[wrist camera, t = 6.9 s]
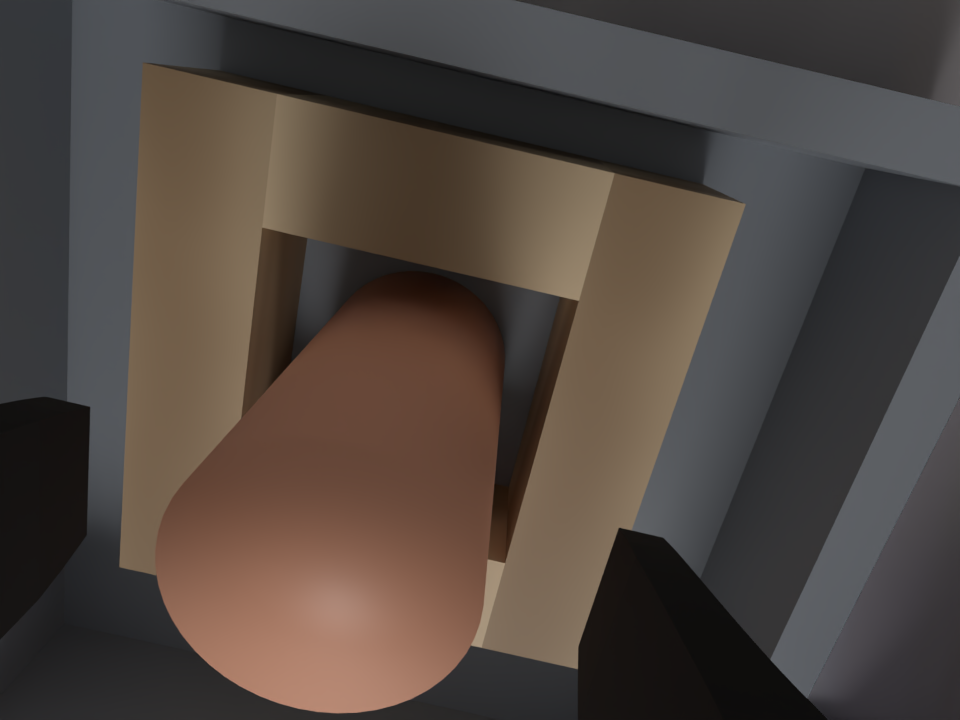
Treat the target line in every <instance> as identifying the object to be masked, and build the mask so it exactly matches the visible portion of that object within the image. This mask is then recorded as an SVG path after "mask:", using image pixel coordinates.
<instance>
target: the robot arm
mask: <svg viewBox="0 0 960 720" xmlns="http://www.w3.org/2000/svg"><path fill="white" fill-rule="evenodd" d="M89 438H90V407H89V406H85V405H81V404H76V403H72V402H68V401H63V400H59V399H54V398H50V397H46V396H45V397H37V398H30V399H23V400H17V401H12V402H7V403H2V404H0V639H1V638H2V637H3V636H4V635H5V634H6V633H7V632H8V631H9V630H10V629H11V628H12V627H13V626H14V625H15V624H16V623H17V622H18V621H19V620H20V619H21V618H22V617H23V616H24V615H25V613H26V612H27V611H28V610H29V609H30V608H31V607H32V606H33V605H34V604H35V603H36V602H37V601H38V600H39V599H40V597H41V596H42V595H43V593H44V592H45V591H46V590H47V588H48V587H49V586H50V584H51V583H52V582H53V581H54V579H55V578H56V577H57V575H58V574H59V573H60V572H61V570H62V569H63V568H64V566H65V565H66V563H67V562H68V561H69V559H70V558H71V556H72V555H73V554H74V552H75V551H76V550H77V548H78V547H79V545H80V544H81V543H82V541H83V540H84V538H85V537H86V536H87V509H88V474H89ZM578 720H827V719H826V717H825V716H824V715H823V714H822V713H821V712H820V711H819V710H818V709H817V708H816V707H815V706H814V705H813V704H812V703H811V702H810V701H809V700H808V699H807V698H806V697H805V696H804V695H803V694H802V693H801V692H800V691H799V690H798V689H797V688H796V687H795V686H794V684H793V683H792V682H791V681H790V680H789V679H788V678H787V677H786V676H785V675H784V674H783V673H782V672H781V671H780V670H779V668H778V667H777V666H776V665H775V664H774V663H773V662H772V661H771V660H770V659H769V658H768V657H767V655H766V654H765V653H764V652H763V651H762V650H761V649H760V648H759V647H758V645H757V644H756V643H755V642H754V641H753V640H752V639H751V638H750V636H749V635H748V634H747V633H746V632H745V631H744V630H743V628H742V627H741V626H740V625H739V624H738V623H737V622H736V620H735V619H734V618H733V617H732V616H731V615H730V613H729V612H728V611H727V610H726V609H725V608H724V606H723V605H722V604H721V603H720V602H719V601H718V599H717V598H716V597H715V596H714V595H713V593H712V592H711V591H710V590H709V589H708V588H707V586H706V585H705V584H704V583H703V582H702V580H701V579H700V578H699V577H698V576H697V575H696V573H695V572H694V571H693V570H692V569H691V567H690V566H689V565H688V564H687V563H686V562H685V560H684V559H683V558H682V557H681V556H680V555H679V554H678V552H677V551H676V550H675V549H674V548H673V547H672V546H671V545H670V544H669V543H668V542H667V541H666V540H665V539H664V538H663V537H658V536H654V535H650V534H645V533H641V532H637V531H632V530H628V529H623V528H619V529H618V532H617V534H616V537H615V540H614V543H613V546H612V549H611V552H610V555H609V558H608V561H607V564H606V567H605V570H604V573H603V576H602V578H601V581H600V584H599V587H598V590H597V593H596V596H595V599H594V602H593V605H592V608H591V611H590V614H589V617H588V619H587V622H586V625H585V628H584V631H583V634H582V637H581V640H580V643H579V646H578Z"/></svg>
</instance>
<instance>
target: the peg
mask: <svg viewBox="0 0 960 720" xmlns="http://www.w3.org/2000/svg"><path fill="white" fill-rule="evenodd" d="M504 368H505V351H504V343H503V339H502V335H501V332H500V330H499V327H498V325H497V323H496V321H495V319H494V317H493V315H492V314H491V312H490V311H489V310H488V308H487V307H486V305H485V304H484V303H483V302H482V301H481V300H480V299H479V298H478V297H477V296H476V295H475V294H474V293H472V292H471V291H470V290H469V289H467V288H466V287H464V286H463V285H461V284H459V283H458V282H456V281H453V280H451V279H449V278H447V277H444V276H441V275H437V274H434V273H428V272H422V271H405V272H396V273H392V274H388V275H385V276H382V277H379V278H377V279H375V280H373V281H371V282H369V283H367V284H365V285H364V286H363V287H361V288H360V289H359V290H357V291H356V292H355V293H354V294H353V295H352V296H351V297H350V298H349V299H348V300H347V301H346V302H345V303H344V305H343V306H342V307H341V308H340V309H339V310H338V311H337V312H336V313H335V315H334V316H333V317H332V318H331V319H330V320H329V321H328V322H327V324H326V325H325V326H324V327H323V328H322V329H321V330H320V331H319V332H318V334H317V335H316V336H315V337H314V338H313V339H312V340H311V341H310V342H309V344H308V345H307V346H306V347H305V348H304V349H303V350H302V351H301V353H300V354H299V355H298V356H297V357H296V358H295V359H294V360H293V361H292V363H291V364H290V365H289V366H288V367H287V368H286V369H285V370H284V371H283V373H282V374H281V375H280V376H279V377H278V378H277V379H276V380H275V381H274V383H273V384H272V385H271V386H270V387H269V388H268V389H267V390H266V392H265V393H264V394H263V395H262V396H261V397H260V398H259V399H258V400H257V402H256V403H255V404H254V405H253V406H252V407H251V408H250V409H249V410H248V412H247V413H246V414H245V415H244V416H243V417H242V418H241V419H240V421H239V422H238V423H237V424H236V425H235V426H234V427H233V428H232V429H231V431H230V432H229V433H228V434H227V435H226V436H225V437H224V438H223V439H222V441H221V442H220V443H219V444H218V445H217V446H216V447H215V448H214V450H213V451H212V452H211V453H210V454H209V455H208V456H207V457H206V458H205V460H204V461H203V462H202V463H201V464H200V465H199V466H198V467H197V468H196V470H195V471H194V472H193V473H192V474H191V475H190V476H189V477H188V479H187V480H186V481H185V482H184V483H183V484H182V486H181V487H180V488H179V490H178V491H177V492H176V494H175V495H174V496H173V498H172V499H171V501H170V503H169V505H168V507H167V509H166V511H165V513H164V515H163V517H162V521H161V524H160V527H159V530H158V534H157V541H156V548H155V568H156V574H157V580H158V585H159V589H160V592H161V595H162V598H163V601H164V604H165V606H166V608H167V610H168V612H169V614H170V616H171V619H172V620H173V622H174V623H175V625H176V627H177V628H178V630H179V631H180V633H181V634H182V636H183V637H184V638H185V640H186V641H187V642H188V643H189V644H190V646H191V647H192V648H193V649H194V650H195V651H196V652H197V653H198V654H199V655H200V656H201V657H202V658H203V659H204V660H205V661H206V662H207V663H208V664H209V665H210V666H212V667H213V668H214V669H215V670H217V671H218V672H219V673H221V674H222V675H223V676H224V677H226V678H228V679H229V680H231V681H232V682H234V683H236V684H237V685H239V686H240V687H242V688H244V689H246V690H248V691H250V692H252V693H254V694H256V695H258V696H261V697H263V698H266V699H268V700H271V701H274V702H276V703H279V704H283V705H287V706H290V707H294V708H298V709H303V710H309V711H315V712H326V713H358V712H365V711H372V710H378V709H382V708H386V707H390V706H394V705H397V704H399V703H402V702H404V701H407V700H410V699H412V698H414V697H416V696H418V695H420V694H422V693H423V692H425V691H427V690H429V689H430V688H432V687H433V686H434V685H436V684H437V683H439V682H440V681H441V680H443V679H444V678H445V677H446V676H447V675H448V674H449V673H450V672H451V671H452V670H453V669H454V668H455V667H456V666H457V665H458V663H459V662H460V661H461V660H462V658H463V657H464V656H465V654H466V653H467V651H468V649H469V648H470V646H471V644H472V642H473V640H474V638H475V636H476V633H477V630H478V628H479V625H480V622H481V616H482V611H483V606H484V596H485V584H486V573H487V562H488V550H489V539H490V527H491V516H492V505H493V493H494V482H495V471H496V459H497V448H498V436H499V425H500V414H501V402H502V391H503V380H504Z"/></svg>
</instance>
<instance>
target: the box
mask: <svg viewBox="0 0 960 720" xmlns="http://www.w3.org/2000/svg"><path fill="white" fill-rule="evenodd" d="M405 271H422V272H428V273H434V274H437V275H441V276H444V277H447V278H449V279H451V280H453V281H456V282H458V283H459V284H461V285H463V286H464V287H466V288H467V289H469V290H470V291H471V292H472V293H474V294H475V295H476V296H477V297H478V298H479V299H480V300H481V301H482V302H483V303H484V304H485V305H486V307H487V308H488V310H489V311H490V312H491V314H492V315H493V317H494V319H495V321H496V323H497V325H498V327H499V330H500V332H501V335H502V339H503V343H504V351H505V368H504V380H503V391H502V402H501V414H500V425H499V436H498V448H497V459H496V471H495V482H494V493H493V505H492V516H491V527H490V539H489V550H488V562H487V573H486V584H485V596H484V606H483V611H482V616H481V622H480V625H479V628H478V630H477V633H476V636H475V638H474V640H473V642H472V644H471V646H470V648H469V649H468V651H467V653H466V654H465V656H464V657H463V658H462V660H461V661H460V662H459V663H458V665H457V666H456V667H455V668H454V669H453V670H452V671H451V672H450V673H449V674H448V675H447V676H446V677H445V678H444V679H443V680H441V681H440V682H439V683H437V684H436V685H434V686H433V687H432V688H430V689H429V690H427V691H425V692H423V693H422V694H420V695H418V696H416V697H414V698H412V699H410V700H407V701H404V702H402V703H399V704H397V705H394V706H390V707H386V708H382V709H378V710H372V711H365V712H358V713H326V712H315V711H309V710H303V709H298V708H294V707H290V706H287V705H283V704H279V703H276V702H274V701H271V700H268V699H266V698H263V697H261V696H258V695H256V694H254V693H252V692H250V691H248V690H246V689H244V688H242V687H240V686H239V685H237V684H236V683H234V682H232V681H231V680H229V679H228V678H226V677H224V676H223V675H222V674H221V673H219V672H218V671H217V670H215V669H214V668H213V667H212V666H210V665H209V664H208V663H207V662H206V661H205V660H204V659H203V658H202V657H201V656H200V655H199V654H198V653H197V652H196V651H195V650H194V649H193V648H192V647H191V646H190V644H189V643H188V642H187V641H186V640H185V638H184V637H183V636H182V634H181V633H180V631H179V630H178V628H177V627H176V625H175V623H174V622H173V620H172V619H171V616H170V614H169V612H168V610H167V608H166V606H165V604H164V601H163V598H162V595H161V592H160V589H159V585H158V580H157V574H156V568H155V548H156V541H157V534H158V530H159V527H160V524H161V521H162V517H163V515H164V513H165V511H166V509H167V507H168V505H169V503H170V501H171V499H172V498H173V496H174V495H175V494H176V492H177V491H178V490H179V488H180V487H181V486H182V484H183V483H184V482H185V481H186V480H187V479H188V477H189V476H190V475H191V474H192V473H193V472H194V471H195V470H196V468H197V467H198V466H199V465H200V464H201V463H202V462H203V461H204V460H205V458H206V457H207V456H208V455H209V454H210V453H211V452H212V451H213V450H214V448H215V447H216V446H217V445H218V444H219V443H220V442H221V441H222V439H223V438H224V437H225V436H226V435H227V434H228V433H229V432H230V431H231V429H232V428H233V427H234V426H235V425H236V424H237V423H238V422H239V421H240V419H241V418H242V417H243V416H244V415H245V414H246V413H247V412H248V410H249V409H250V408H251V407H252V406H253V405H254V404H255V403H256V402H257V400H258V399H259V398H260V397H261V396H262V395H263V394H264V393H265V392H266V390H267V389H268V388H269V387H270V386H271V385H272V384H273V383H274V381H275V380H276V379H277V378H278V377H279V376H280V375H281V374H282V373H283V371H284V370H285V369H286V368H287V367H288V366H289V365H290V364H291V363H292V361H293V360H294V359H295V358H296V357H297V356H298V355H299V354H300V353H301V351H302V350H303V349H304V348H305V347H306V346H307V345H308V344H309V342H310V341H311V340H312V339H313V338H314V337H315V336H316V335H317V334H318V332H319V331H320V330H321V329H322V328H323V327H324V326H325V325H326V324H327V322H328V321H329V320H330V319H331V318H332V317H333V316H334V315H335V313H336V312H337V311H338V310H339V309H340V308H341V307H342V306H343V305H344V303H345V302H346V301H347V300H348V299H349V298H350V297H351V296H352V295H353V294H354V293H355V292H356V291H357V290H359V289H360V288H361V287H363V286H364V285H365V284H367V283H369V282H371V281H373V280H375V279H377V278H379V277H382V276H385V275H388V274H392V273H396V272H405ZM45 396H46V397H50V398H54V399H59V400H63V401H68V402H72V403H76V404H81V405H85V406H89V407H90V438H89V474H88V509H87V536H86V537H85V538H84V540H83V541H82V543H81V544H80V545H79V547H78V548H77V550H76V551H75V552H74V554H73V555H72V556H71V558H70V559H69V561H68V562H67V563H66V565H65V566H64V568H63V569H62V570H61V572H60V573H59V574H58V575H57V577H56V578H55V579H54V581H53V582H52V583H51V584H50V586H49V587H48V588H47V590H46V591H45V592H44V593H43V595H42V596H41V597H40V599H39V600H38V601H37V602H36V603H35V604H34V605H33V606H32V607H31V608H30V609H29V610H28V611H27V612H26V613H25V615H24V616H23V617H22V618H21V619H20V620H19V621H18V622H17V623H16V624H15V625H14V626H13V627H12V628H11V629H10V630H9V631H8V632H7V633H6V634H5V635H4V636H3V637H2V638H1V639H0V720H578V646H579V643H580V640H581V637H582V634H583V631H584V628H585V625H586V622H587V619H588V617H589V614H590V611H591V608H592V605H593V602H594V599H595V596H596V593H597V590H598V587H599V584H600V581H601V578H602V576H603V573H604V570H605V567H606V564H607V561H608V558H609V555H610V552H611V549H612V546H613V543H614V540H615V537H616V534H617V532H618V529H619V528H623V529H628V530H632V531H637V532H641V533H645V534H650V535H654V536H658V537H663V538H664V539H665V540H666V541H667V542H668V543H669V544H670V545H671V546H672V547H673V548H674V549H675V550H676V551H677V552H678V554H679V555H680V556H681V557H682V558H683V559H684V560H685V562H686V563H687V564H688V565H689V566H690V567H691V569H692V570H693V571H694V572H695V573H696V575H697V576H698V577H699V578H700V579H701V580H702V582H703V583H704V584H705V585H706V586H707V588H708V589H709V590H710V591H711V592H712V593H713V595H714V596H715V597H716V598H717V599H718V601H719V602H720V603H721V604H722V605H723V606H724V608H725V609H726V610H727V611H728V612H729V613H730V615H731V616H732V617H733V618H734V619H735V620H736V622H737V623H738V624H739V625H740V626H741V627H742V628H743V630H744V631H745V632H746V633H747V634H748V635H749V636H750V638H751V639H752V640H753V641H754V642H755V643H756V644H757V645H758V647H759V648H760V649H761V650H762V651H763V652H764V653H765V654H766V655H767V657H768V658H769V659H770V660H771V661H772V662H773V663H774V664H775V665H776V666H777V667H778V668H779V670H780V671H781V672H782V673H783V674H784V675H785V676H786V677H787V678H788V679H789V680H790V681H791V682H792V683H793V684H794V686H795V687H796V688H797V689H798V690H799V691H800V692H801V693H802V694H803V695H804V696H805V697H806V698H808V696H809V694H810V692H811V690H812V688H813V686H814V684H815V682H816V680H817V678H818V676H819V674H820V672H821V671H822V669H823V667H824V665H825V663H826V661H827V659H828V657H829V655H830V653H831V651H832V649H833V647H834V645H835V643H836V641H837V639H838V637H839V635H840V633H841V631H842V629H843V627H844V625H845V623H846V621H847V619H848V617H849V615H850V613H851V611H852V609H853V607H854V605H855V603H856V601H857V599H858V597H859V595H860V593H861V591H862V589H863V587H864V586H865V584H866V582H867V580H868V578H869V576H870V574H871V572H872V570H873V568H874V566H875V564H876V562H877V560H878V558H879V556H880V554H881V552H882V550H883V548H884V546H885V544H886V542H887V540H888V538H889V536H890V534H891V532H892V530H893V528H894V526H895V524H896V522H897V520H898V518H899V516H900V514H901V512H902V510H903V508H904V506H905V504H906V503H907V501H908V499H909V497H910V495H911V493H912V491H913V489H914V487H915V485H916V483H917V481H918V479H919V477H920V475H921V473H922V471H923V469H924V467H925V465H926V463H927V461H928V459H929V457H930V455H931V453H932V451H933V449H934V447H935V445H936V443H937V441H938V439H939V437H940V435H941V433H942V431H943V429H944V427H945V425H946V423H947V421H948V419H949V418H950V416H951V414H952V412H953V410H954V408H955V406H956V404H957V402H958V400H959V398H960V106H956V105H951V104H947V103H943V102H939V101H935V100H930V99H926V98H922V97H918V96H914V95H910V94H905V93H901V92H897V91H893V90H889V89H884V88H880V87H876V86H872V85H868V84H863V83H859V82H855V81H851V80H847V79H843V78H838V77H834V76H830V75H826V74H822V73H817V72H813V71H809V70H805V69H801V68H796V67H792V66H788V65H784V64H780V63H776V62H771V61H767V60H763V59H759V58H755V57H750V56H746V55H742V54H738V53H734V52H729V51H725V50H721V49H717V48H713V47H708V46H704V45H700V44H696V43H692V42H688V41H683V40H679V39H675V38H671V37H667V36H662V35H658V34H654V33H650V32H646V31H641V30H637V29H633V28H629V27H625V26H621V25H616V24H612V23H608V22H604V21H600V20H595V19H591V18H587V17H583V16H579V15H574V14H570V13H566V12H562V11H558V10H553V9H549V8H545V7H541V6H537V5H533V4H528V3H524V2H520V1H516V0H0V404H2V403H7V402H12V401H17V400H23V399H30V398H37V397H45Z"/></svg>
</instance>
